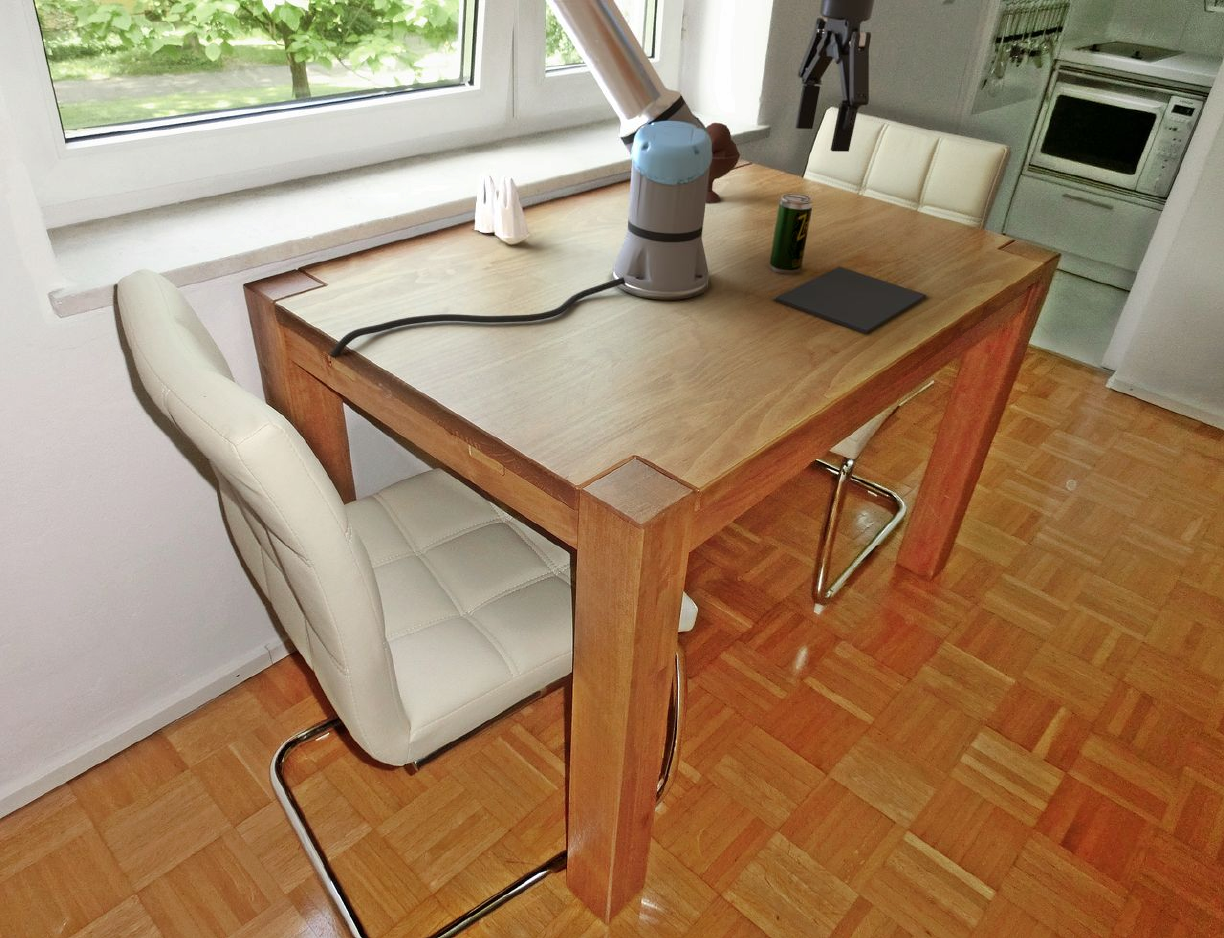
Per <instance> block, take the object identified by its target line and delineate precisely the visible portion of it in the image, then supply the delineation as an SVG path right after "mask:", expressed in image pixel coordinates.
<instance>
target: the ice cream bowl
mask: <svg viewBox="0 0 1224 938" xmlns="http://www.w3.org/2000/svg"><path fill="white" fill-rule="evenodd" d="M705 128H706V129H707V131H708V134H709V136H710V138H711V143H712V148H711V150H712V161H711V164H710V169H709V177H708V186H707V195H706V204H715V203H718V202H720V201H721V197H720V195H719V194H717V193H716V192H715V190H713V187H714V186H713V185H714V182H715V180H717V179H720V178H722V177H725V175H727V174H729V173H730V172H732V170H734V169H735V168H736V166H737V164H738V163H739V159H740V156H741V153H740V152H739V150H738V147H737V144H736V143H735V142H734V141H733V140H732V135H731V131H730V128H729V127H728V126H727V125H726V124H724V123H720V122H712V123H710V124H708V125H707V126H705Z"/></svg>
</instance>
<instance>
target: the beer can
mask: <svg viewBox="0 0 1224 938" xmlns="http://www.w3.org/2000/svg"><path fill="white" fill-rule="evenodd" d="M812 202H813V198H812V197H811V196H808V195H806V194H802V193H784V194H782V195H781V199H780V201H779V202H778V208H777V214H776V218H775V219H776V220H775V226H774V233H773V237H772V238H773V239H772V245H771V251H770V257H769V265H770V268H771V270H772V271H773V272H776V273H780V274H785V275H792V274H796V273H798V272H799V271H800V270H801V268H802V266H803V262H804V255H805V249H806V245H807V244H806V242H807V238H808V233H809V228H810V222H811V217H812V211H813V203H812Z"/></svg>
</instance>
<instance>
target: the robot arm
mask: <svg viewBox="0 0 1224 938" xmlns="http://www.w3.org/2000/svg"><path fill="white" fill-rule="evenodd" d="M545 2H546V3H547V5H548V7H549V9H550V10H551V12H552V13H553V15H554V17H555V18H556V20H557V21H558V23H559V25H560V26H561V28H562V29H563V31H564V33H565V34H566V35H567V37H568V39H569V40H570V42H571V44H572V45H573V47H574V48H575V51H576V52H577V53H578V55H579V57H580V58H581V59H582V61H583V63H584V65H585V67H586V68H587V69H588V71H589V72H590V74H591V75H592V77H593V79H594V80H595V82H596V83H597V85H598V87H599V88H600V90H601V91H602V93H603V95H604V96H605V98H606V100H607V101H608V103H609V104H610V106H611V107H612V109H613V111H614V112H615V114H616V115H617V117H618V119H619V121H620V127H619V132H618V137H619V138H620V140H621V141H622V143H623V145H624V146H625V148H626V149H627V151H628V153H629V154H630V158H631V170H630V171H631V173H630V185H629V186H630V189H629V201H628V202H629V206H628V217H627V218H628V219H627V230H626V235H625V237H624V240H623V242H622V245H621V247H620V250H619V252H618V254H617V257H616V260H615V261H614V266H613V273H612V280H610V281H606V282H604V283H601V284H599V285H595V286H592V287H590V288H586V289H584V290H582V291H579V292H577V293H575V294H573V295H572V296H570V297H569V298H567V300H565V301H564V302H563V304H561V305H560V306H558V307H557V308H554V309H551V310H547V311H543V312H539V313H538V312H537V313H530V314H518V315H517V314H514V315H511V314H510V315H509V314H507V315H476V314H475V315H474V314H460V313H459V314H457V313H455V314H454V313H443V314H442V313H441V314H426V315H417V316H409V317H403V318H399V319H398V318H397V319H395V320H391V321H387V322H383V323H379V324H375V325H369V326H363V327H361V328H357V329H354V330H352V331H350V332H349V333H347V334H346V335H344V336H343V337H342V338H341V339H340V340H339V341H338V342H337V344H336V345H335V346H334V348H333V349H332V351H331V352H330V355H329V357H330V358H337V357H339V356H340V355H341V353H342V352H343V351H344V350H345V348H346V347H347V346H348V345H349V344H350V343H351V342H352V341H354V340H355V339H358V338H359V337H362V336H365V335H370V334H375V333H380V332H384V331H388V330H391V329H396V328H399V327H405V326H408V325H414V324H425V323H437V322H466V323H481V324H483V323H485V324H494V323H495V324H498V323H500V324H501V323H527V322H536V321H542V320H548V319H551V318H554V317H557V316H559V315H561V314H563V313H565V312H567V310H568V309H570V308H571V307H572V306H573V305H574V304H575V303H576V302H578V301H580V300H581V299H584V298H585V297H588V296H592V295H594V294H597V293H601V292H604V291H606V290H609V289H612V288H615V287H618V288H619V289H621V290H622V291H624V292H626V293H628V294H631V295H633V296H636V297H640V298H645V299H650V300H658V301H659V300H661V301H677V300H685V299H690V298H694V297H696V296H699V295H702V293H704V292H705V291H706V290H707V289H708V285H709V275H710V274H709V268H708V264H707V258H706V253H705V248H704V247H705V246H704V243H703V236H702V235H703V228H704V220H705V211H706V204H707V203H706V195H707V186H708V177H709V169H710V164H711V161H712V150H711V148H712V143H711V138H710V136H709V134H708V131H707V129H706V125H705V124H704V123H703V121H701V120H700V118H699V117H697V116H696V115H695V114H694V113H693V111H692V110H691V109H690V107H689V105H688V104H687V102H686V100H685V99H684V97H683V95H682V94H681V92H680V91H677V90H674V89H669V88H667V87H666V85H665V84H664V82H663V81H662V79H661V78H660V76H659V74H658V73H657V70H656V69H655V68H654V65H653V63H652V62H651V61H650V59H649V57H648V55H647V54H646V52H645V51H644V49H643V47H642V46H641V44H640V42H639V40H638V39H637V37H636V35H635V34H634V32H633V30H632V29H631V27H630V26H629V24H628V22H627V20H626V19H625V17H624V15H623V13H622V12H621V10H620V9H619V7H618V5H617V3H616V2H615V0H545ZM874 4H875V0H821V2H820V7H819V15H820V16H821V17H817V18H816V19H815V22H814V23H815V24H814V28H813V33H812V35H811V38H810V40H809V43H808V45H807V47H806V50H805V53H804V55H803V58H802V60H801V63H800V66H799V68H798V71H797V78H800V79H801V85H802V88H801V94H800V100H799V106H798V111H797V117H796V122H795V128H796V130H797V129H798V130H813V128H814V123H815V117H816V111H817V107H818V103H819V102H818V101H819V97H820V96H819V95H820V91H821V86H822V83H823V82H822V78H823V76H824V74H825V73H826V71H827V69H828V68H829V66H830V64H831V63H832V61H833V59H834V63H835V64H836V65H837V66H838V73H839V80H840V81H839V82H840V89H841V98H842V100H841V101H840V102H839V103H838V112H837V116H836V121H835V125H834V131H833V135H832V141H831V145H830V151H831V152H838V153H839V152H842V153H843V152H846V153H849V152H850V148H851V144H852V143H851V142H852V137H853V133H854V129H855V125H856V120H857V115H858V110H859V108H861V107H862V106H868V105H869V102H870V101H869V100H870V57H869V56H870V46H871V40H872V33H871V32H870V31H861V24H862V23H863V22H868V21H869V20H870V19H871V18H872V14H873V10H874V6H875V5H874Z"/></svg>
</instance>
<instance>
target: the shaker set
mask: <svg viewBox="0 0 1224 938" xmlns="http://www.w3.org/2000/svg"><path fill="white" fill-rule="evenodd" d="M500 178H501V179H500V184H499V190H498V191H497V187H496V184H495V182H494V180H493V178H492V176H491V175H490V174H488V175H487V176H486V178H485V173H480V175H479V179H478V187H477V196H476V206H475V217H474V219H475V220H474V231H479V232H480V233H484V234H487V233H488V234H490V233H494V235H495V236H496V237H498V238H500V239H501V240H502V241H503V242H504V243H506V244H507V245H515V244H518V243H520V242H523V241H524V240H525V239H526V238H529V236H530V231H529V227H528V223H527V220H526V219H527V218H526V217H525V213H524V209H523V206H522V202H521V200H520V196H519V193H518V189H517V186H516V184H515V183H516V182H515V181H514V179H513V177H508V180H507V177H506V175H503V176H502V177H500Z"/></svg>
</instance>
